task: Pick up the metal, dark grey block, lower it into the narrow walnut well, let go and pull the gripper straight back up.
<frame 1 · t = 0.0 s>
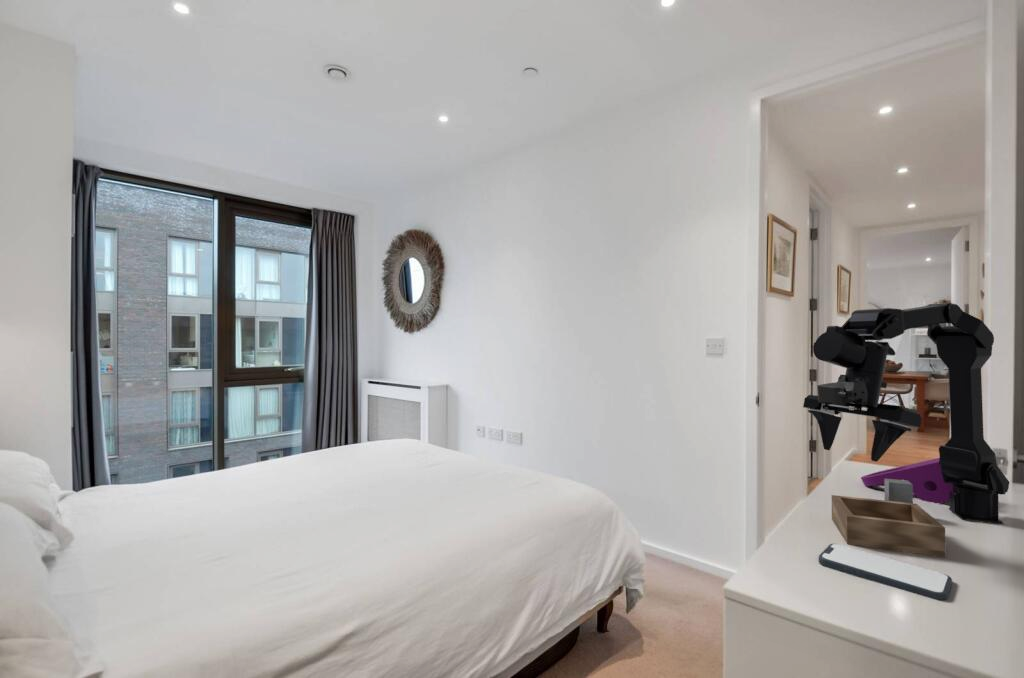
hand: (849, 455, 90), 15 cm above the dresser, tool pointing down, fingers open, 9 cm apart
well: (883, 536, 91), on the dresser
mounting bracket: (907, 494, 117), on the dresser
grey block: (898, 514, 102), on the dresser
phone case: (882, 576, 77), on the dresser
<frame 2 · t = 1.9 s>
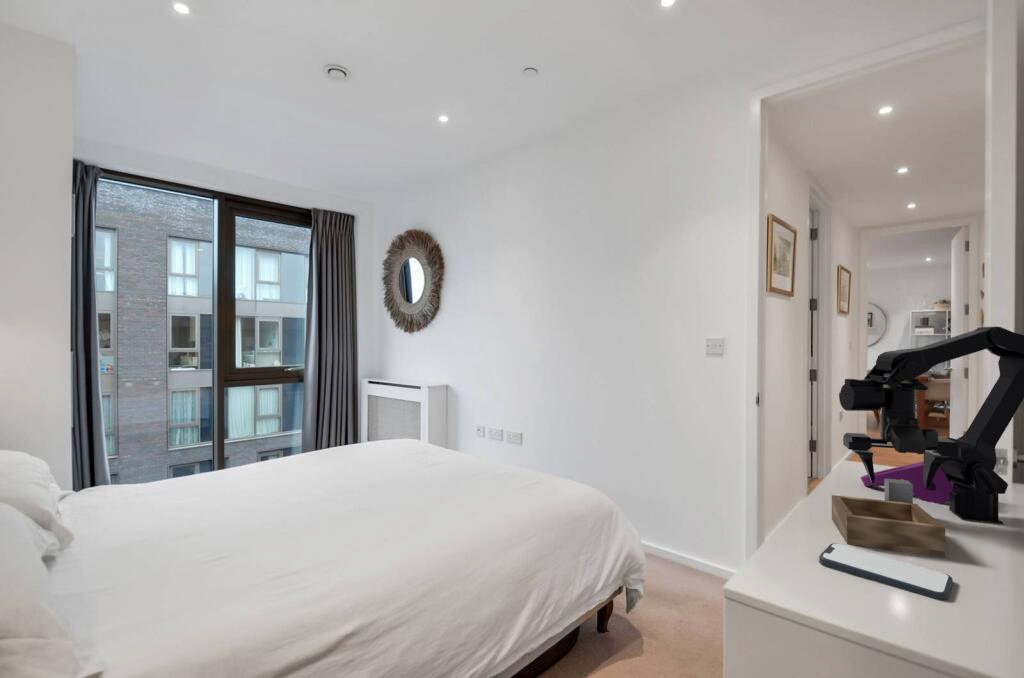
hand: (899, 485, 102), 6 cm above the dresser, tool pointing down, fingers open, 9 cm apart
nothing on the dresser moved.
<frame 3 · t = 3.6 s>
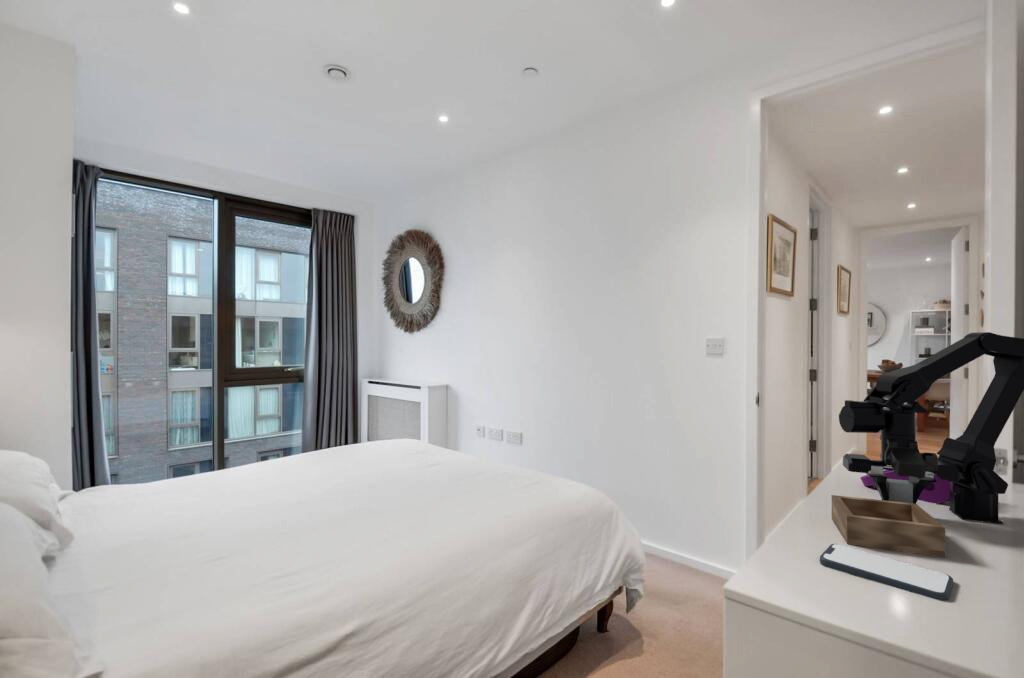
hand: (898, 507, 102), 2 cm above the dresser, tool pointing down, fingers closed on grey block, 4 cm apart
grey block: (898, 514, 102), on the dresser, touching gripper
everything else where it was.
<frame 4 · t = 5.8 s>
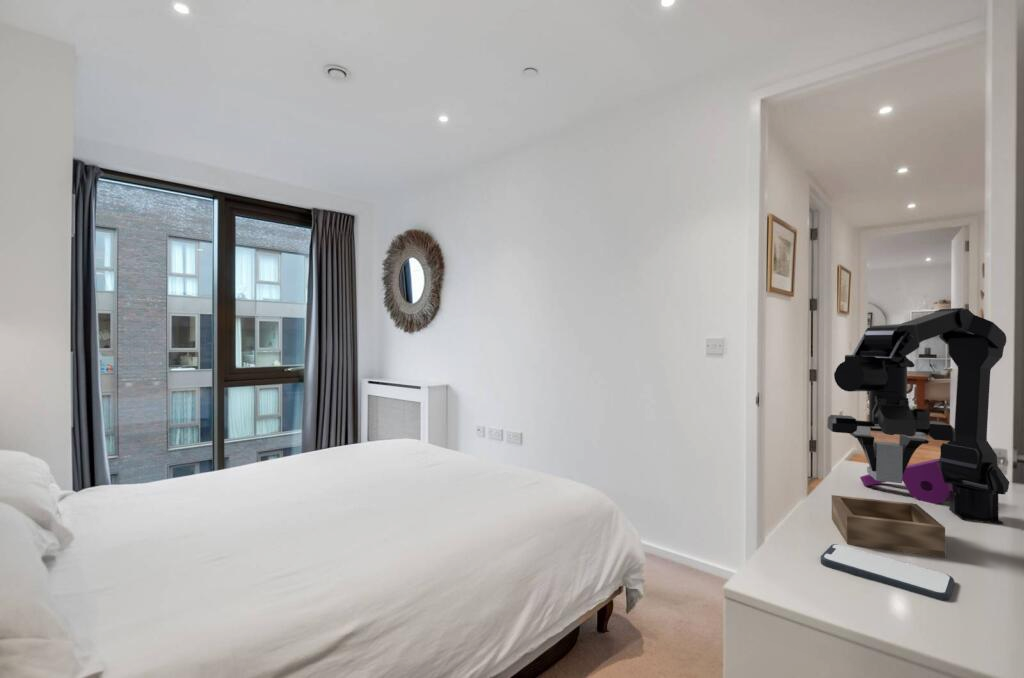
hand: (886, 472, 93), 12 cm above the dresser, tool pointing down, fingers closed on grey block, 4 cm apart
grey block: (886, 480, 93), point 10 cm above the dresser, touching gripper
everything else where it was.
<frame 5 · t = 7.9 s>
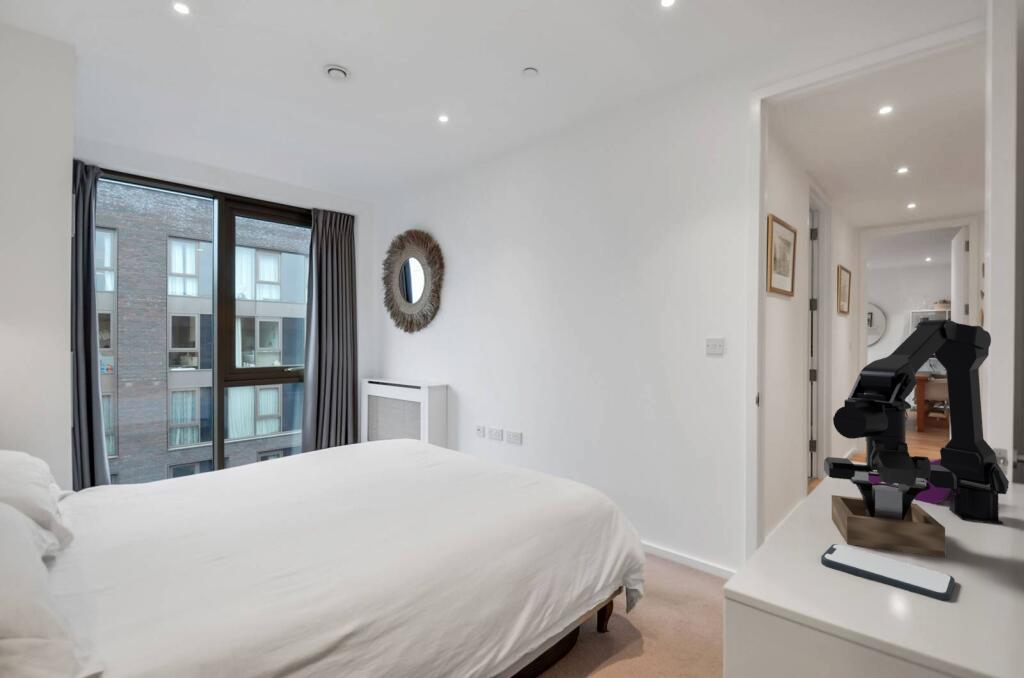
hand: (886, 518, 89), 4 cm above the dresser, tool pointing down, fingers closed on grey block, 4 cm apart
grey block: (886, 526, 90), point 2 cm above the dresser, touching gripper
everything else where it was.
when the fingers open (4 cm above the dresser, at t = 8.2 s): grey block drops 1 cm, resting on well.
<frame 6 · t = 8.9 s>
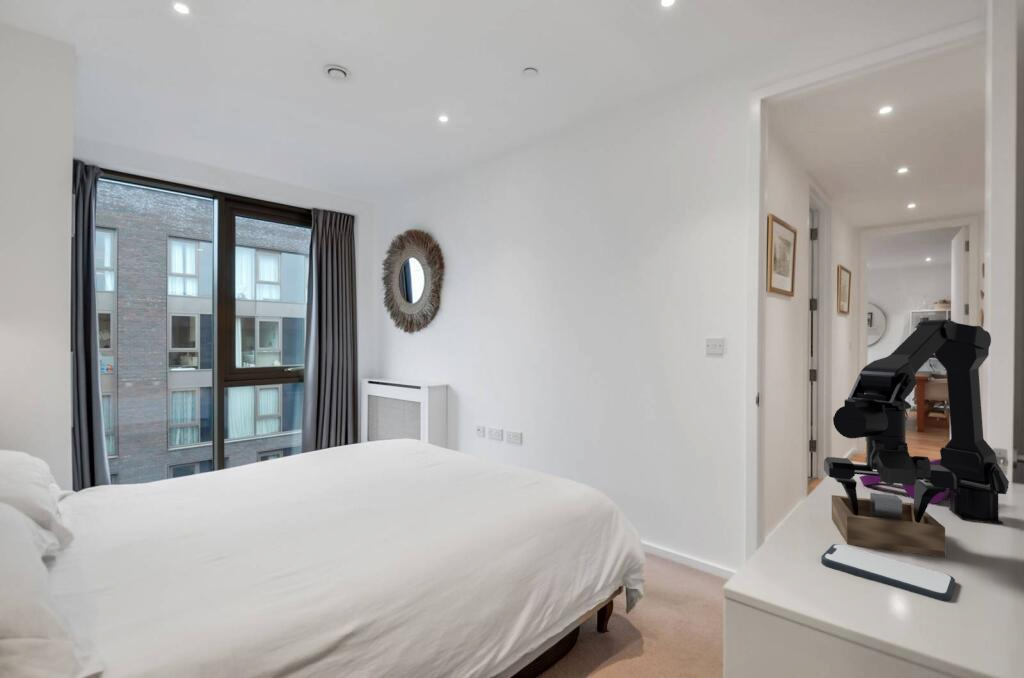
hand: (886, 518, 89), 4 cm above the dresser, tool pointing down, fingers open, 9 cm apart
grey block: (886, 534, 90), point 1 cm above the dresser, touching well
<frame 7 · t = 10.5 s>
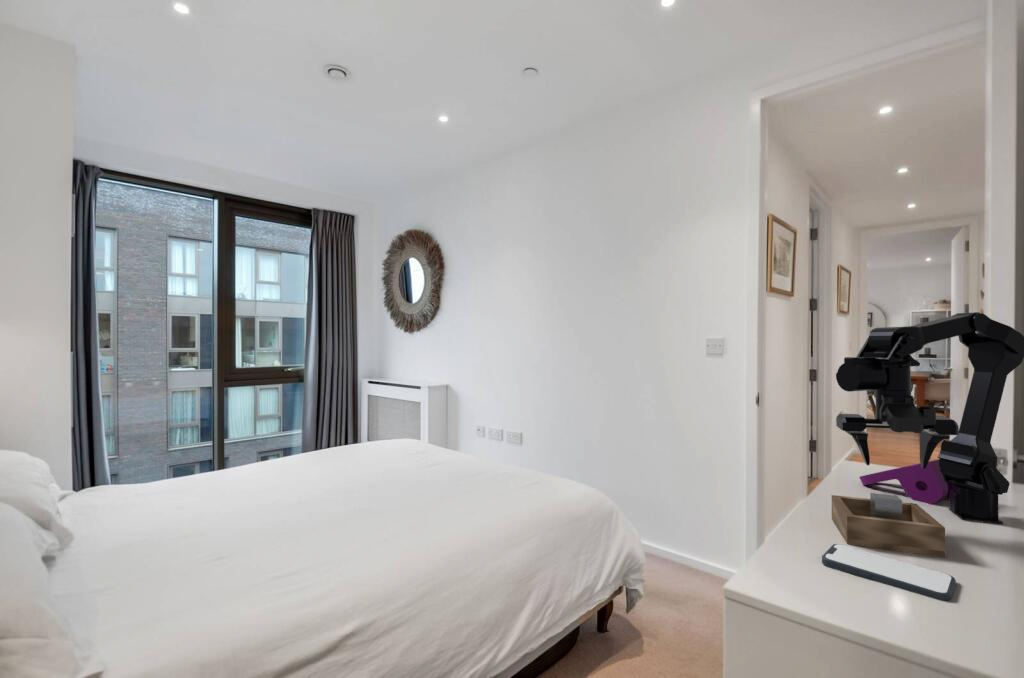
hand: (894, 466, 98), 11 cm above the dresser, tool pointing down, fingers open, 9 cm apart
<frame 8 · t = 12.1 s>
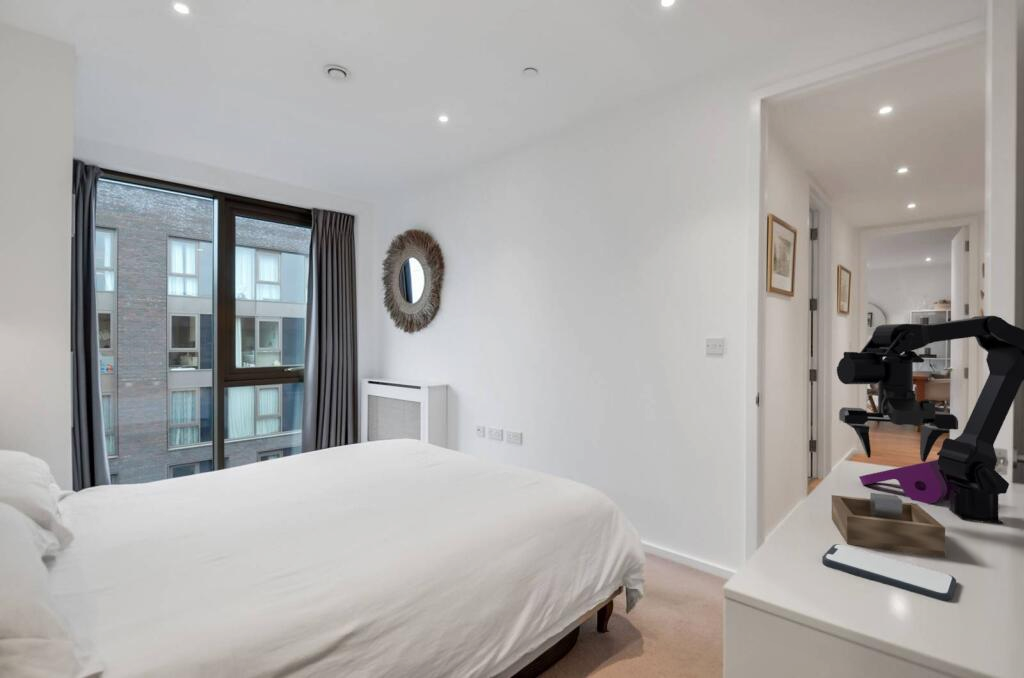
hand: (895, 459, 101), 12 cm above the dresser, tool pointing down, fingers open, 9 cm apart
nothing on the dresser moved.
at the end: grey block inside the target area on the well (0.7 cm from its centre), point 1.0 cm above the well's base; grey block tilted 0°; the gripper is holding nothing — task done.
